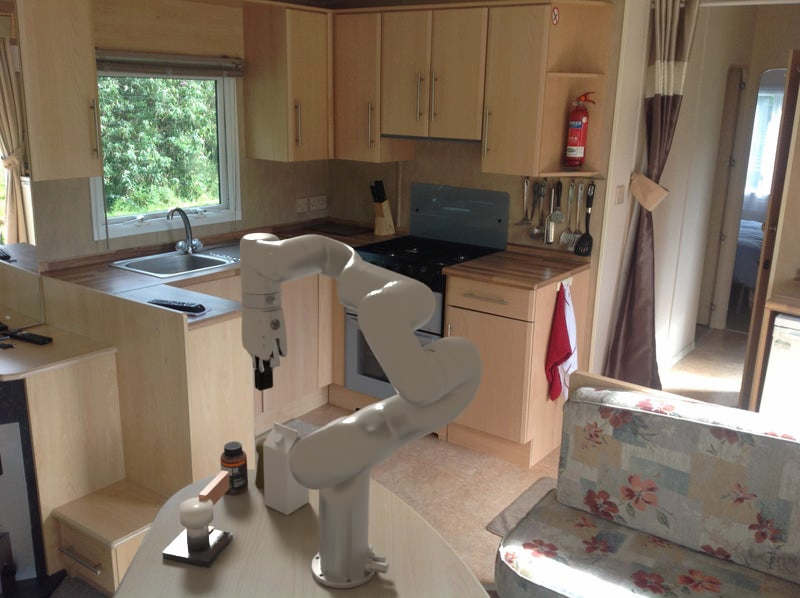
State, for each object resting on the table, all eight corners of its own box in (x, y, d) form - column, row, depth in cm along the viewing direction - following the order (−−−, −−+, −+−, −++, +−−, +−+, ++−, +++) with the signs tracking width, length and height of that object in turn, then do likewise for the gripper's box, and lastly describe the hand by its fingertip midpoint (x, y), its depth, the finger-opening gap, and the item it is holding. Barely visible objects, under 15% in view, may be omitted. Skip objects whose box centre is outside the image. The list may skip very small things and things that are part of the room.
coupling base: (232, 539, 153) (231, 511, 151) (208, 568, 144) (206, 539, 142) (189, 530, 156) (188, 503, 154) (162, 558, 147) (160, 530, 145)
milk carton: (286, 492, 172) (285, 416, 166) (309, 502, 168) (309, 425, 162) (264, 505, 166) (262, 427, 161) (287, 516, 162) (286, 437, 157)
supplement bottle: (237, 479, 176) (235, 436, 173) (253, 488, 173) (252, 444, 169) (216, 489, 172) (214, 445, 169) (232, 498, 168) (230, 453, 165)
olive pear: (275, 490, 172) (274, 448, 169) (251, 487, 173) (249, 444, 170) (284, 478, 178) (283, 436, 175) (260, 474, 179) (259, 433, 176)
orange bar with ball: (203, 530, 144) (202, 512, 143) (174, 525, 146) (172, 507, 145) (239, 489, 159) (239, 473, 158) (212, 485, 160) (211, 468, 159)
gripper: (299, 304, 138) (300, 395, 143) (259, 287, 149) (261, 372, 154) (264, 311, 133) (266, 405, 138) (225, 293, 144) (228, 380, 149)
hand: (264, 387), depth 146 cm, fingers closed
